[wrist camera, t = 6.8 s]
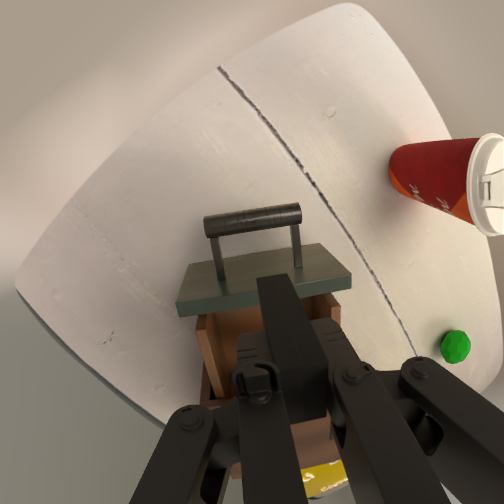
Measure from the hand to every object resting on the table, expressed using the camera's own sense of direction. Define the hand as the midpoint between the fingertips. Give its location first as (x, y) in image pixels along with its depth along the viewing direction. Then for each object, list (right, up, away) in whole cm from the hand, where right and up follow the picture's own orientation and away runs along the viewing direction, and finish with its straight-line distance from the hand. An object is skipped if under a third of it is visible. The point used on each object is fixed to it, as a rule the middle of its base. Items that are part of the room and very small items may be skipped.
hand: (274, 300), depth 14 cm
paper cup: (+16, +11, +13) cm, 23 cm away
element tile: (+11, -35, +27) cm, 46 cm away
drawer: (0, -2, +14) cm, 15 cm away
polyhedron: (+28, -11, +21) cm, 37 cm away
